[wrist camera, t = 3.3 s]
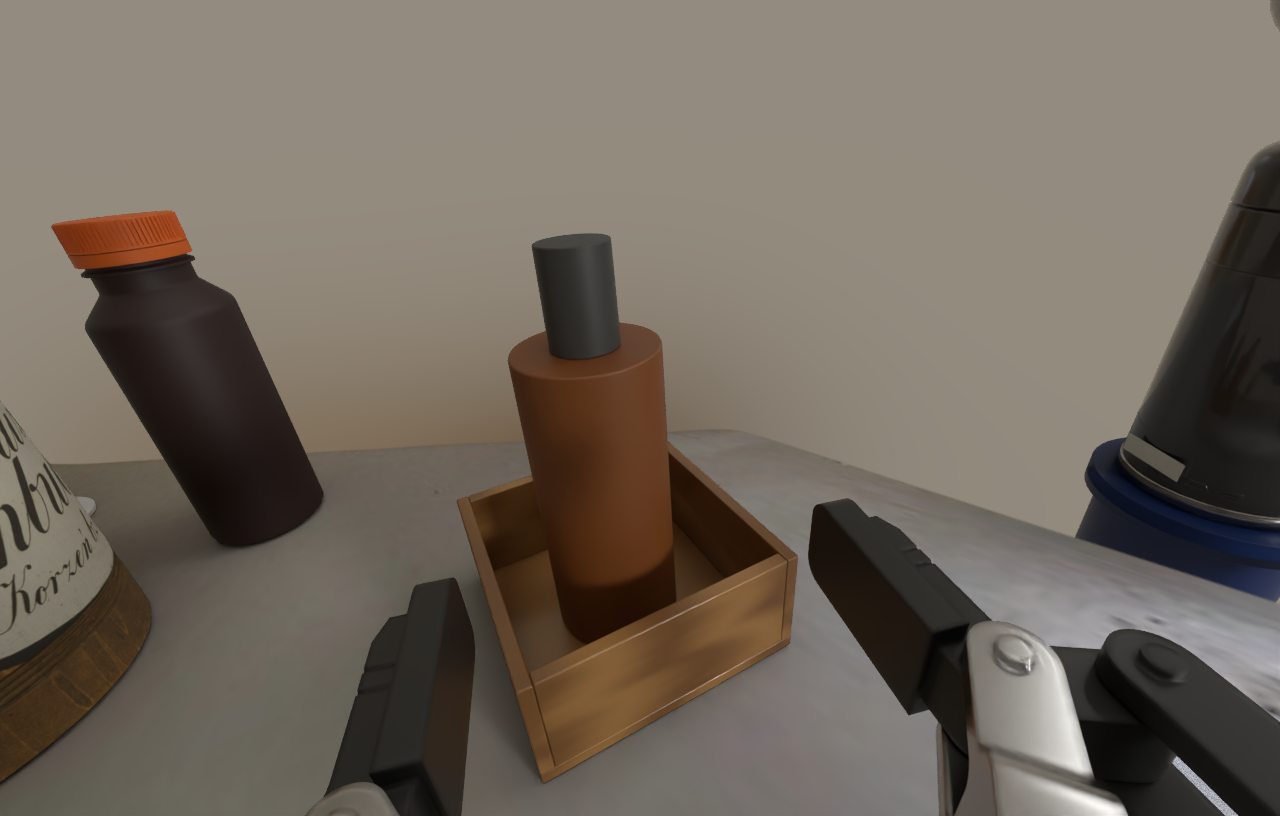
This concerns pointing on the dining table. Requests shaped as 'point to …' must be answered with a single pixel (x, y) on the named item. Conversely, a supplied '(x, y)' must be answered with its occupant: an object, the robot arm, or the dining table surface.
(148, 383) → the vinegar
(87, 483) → the dining table surface
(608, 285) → the sauce bottle
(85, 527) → the wooden container
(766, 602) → the wooden box
